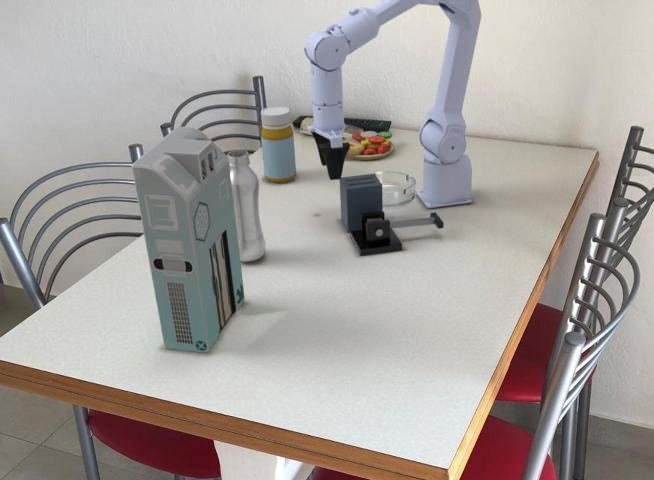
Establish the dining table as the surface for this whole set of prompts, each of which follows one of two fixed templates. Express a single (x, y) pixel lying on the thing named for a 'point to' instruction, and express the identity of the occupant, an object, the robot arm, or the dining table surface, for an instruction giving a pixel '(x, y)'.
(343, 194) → the toaster body
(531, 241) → the dining table surface
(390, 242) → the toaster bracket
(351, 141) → the toy food set
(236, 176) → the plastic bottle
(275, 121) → the bottle
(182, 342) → the device
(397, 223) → the lever
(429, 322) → the dining table surface
